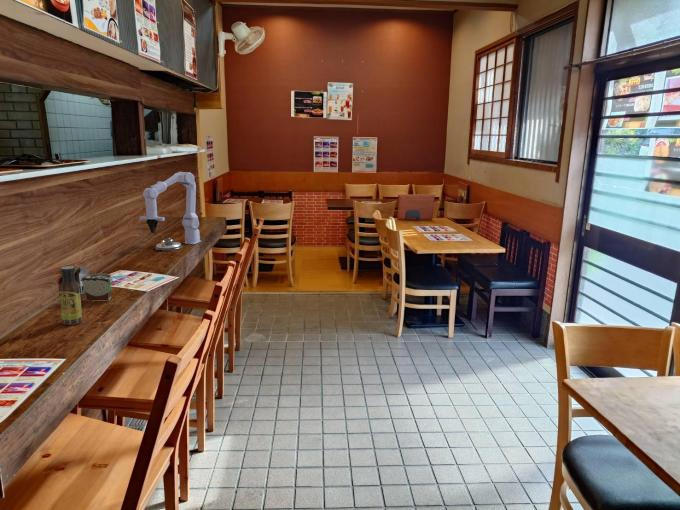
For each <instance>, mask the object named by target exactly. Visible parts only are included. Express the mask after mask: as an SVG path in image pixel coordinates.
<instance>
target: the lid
mask: <svg viewBox="0 0 680 510" xmlns="http://www.w3.org/2000/svg"><path fill="white" fill-rule="evenodd" d="M163 240H164V243H165V245H173V242H174V239H173V238H171V237H167V238H164V239H163Z"/></svg>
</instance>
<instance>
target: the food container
mask: <svg viewBox="0 0 680 510" xmlns="http://www.w3.org/2000/svg"><path fill="white" fill-rule="evenodd" d="M80 282H81V283H82V287H83V292H84V296H85V301H86V300H110V299H111V300H112V282H114V280H113V277H112V275H111V274H109V273H104V272H103V273H101V272H100V273H91V274H89V273H88V274H86V275H82V276H81V277H80Z"/></svg>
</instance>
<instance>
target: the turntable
mask: <svg viewBox="0 0 680 510" xmlns="http://www.w3.org/2000/svg"><path fill="white" fill-rule="evenodd" d="M181 245H182V243H181V242H176V241H173V245H165V243H164V239H163V240H161V241H160V243H157V244H156V245H155V247H156V248H159V249H173V248H178V247H181Z"/></svg>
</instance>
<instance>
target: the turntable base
mask: <svg viewBox="0 0 680 510" xmlns="http://www.w3.org/2000/svg"><path fill="white" fill-rule="evenodd" d="M181 248H182V249H183V245H182V244H181V247H178V248H173V249H159V248H156V246H155V248H154V249H155V251H158V250H162V251H161V252H171V251H170V250H175V251H178V250H177V249H179V250H182V249H181Z"/></svg>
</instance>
